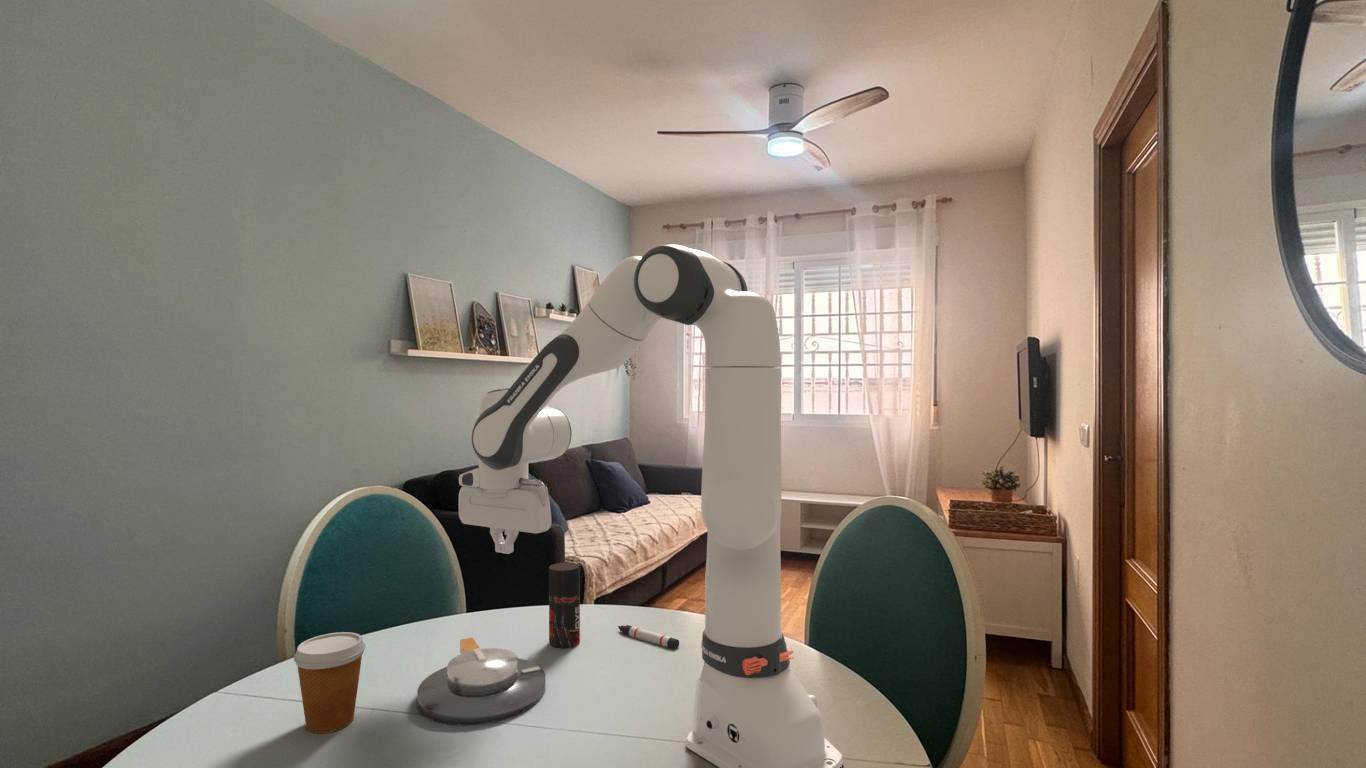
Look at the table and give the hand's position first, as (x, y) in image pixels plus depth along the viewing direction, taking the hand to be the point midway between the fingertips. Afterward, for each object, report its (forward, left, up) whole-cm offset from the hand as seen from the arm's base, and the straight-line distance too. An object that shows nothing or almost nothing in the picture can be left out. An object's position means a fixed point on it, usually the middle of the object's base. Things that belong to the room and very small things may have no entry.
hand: (504, 552), depth 122 cm
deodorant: (+3, -12, -20) cm, 24 cm away
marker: (-4, -27, -20) cm, 34 cm away
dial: (-8, +6, -18) cm, 20 cm away
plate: (-11, +7, -20) cm, 24 cm away
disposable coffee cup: (-9, +29, -20) cm, 36 cm away
